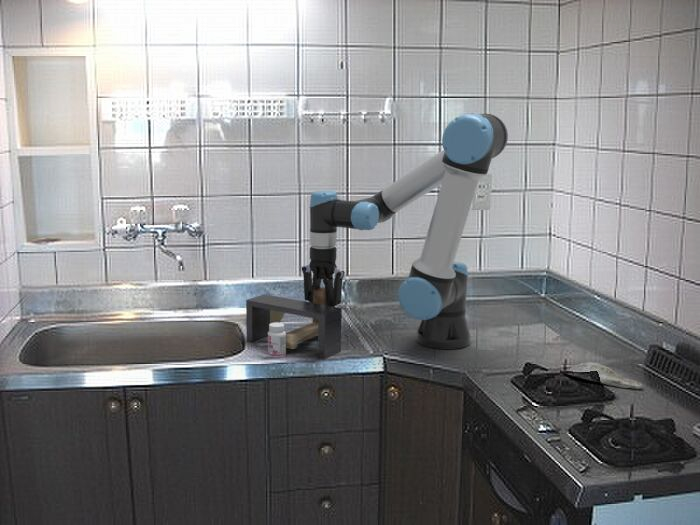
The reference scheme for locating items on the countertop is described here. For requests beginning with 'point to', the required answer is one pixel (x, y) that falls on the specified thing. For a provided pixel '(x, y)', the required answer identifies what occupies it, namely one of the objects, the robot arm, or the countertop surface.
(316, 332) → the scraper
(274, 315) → the flower pot
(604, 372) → the stone
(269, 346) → the pill bottle
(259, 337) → the riser shelf
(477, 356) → the countertop surface
